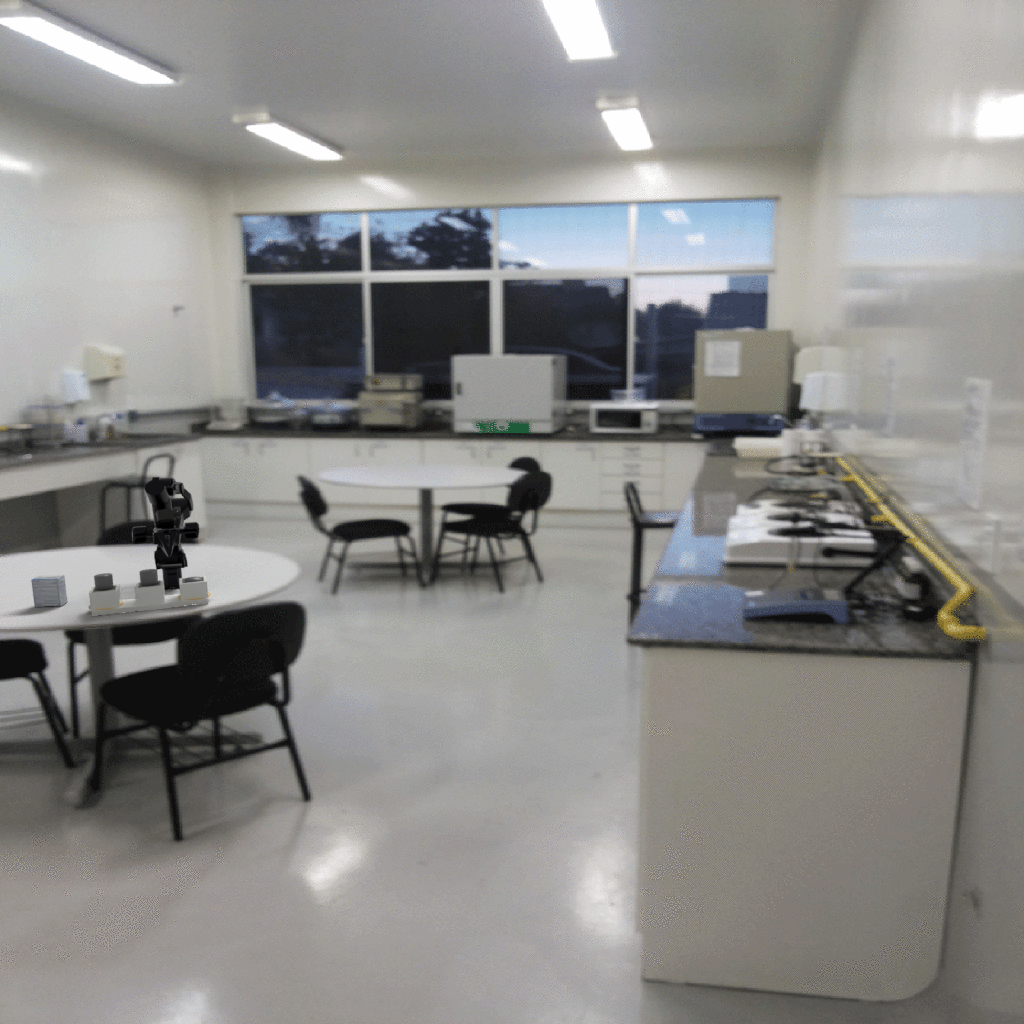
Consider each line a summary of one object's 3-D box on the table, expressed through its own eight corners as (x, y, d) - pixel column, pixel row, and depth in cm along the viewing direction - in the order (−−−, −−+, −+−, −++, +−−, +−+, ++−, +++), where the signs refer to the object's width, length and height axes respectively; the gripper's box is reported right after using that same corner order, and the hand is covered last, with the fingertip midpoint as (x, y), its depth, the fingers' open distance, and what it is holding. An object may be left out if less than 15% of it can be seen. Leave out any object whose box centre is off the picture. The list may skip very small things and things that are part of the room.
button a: (185, 590, 264) (184, 577, 264) (202, 588, 266) (201, 575, 265) (185, 594, 260) (184, 581, 259) (202, 592, 262) (201, 579, 261)
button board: (90, 608, 258) (88, 586, 257) (210, 595, 270) (208, 574, 269) (87, 617, 249) (85, 594, 248) (211, 603, 260) (209, 581, 259)
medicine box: (68, 602, 265) (65, 574, 263) (61, 606, 261) (58, 578, 259) (41, 603, 265) (38, 575, 263) (34, 607, 260) (30, 579, 259)
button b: (140, 583, 260) (139, 570, 259) (158, 581, 261) (157, 568, 261) (140, 587, 255) (139, 573, 254) (158, 585, 257) (156, 571, 256)
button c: (96, 587, 255) (94, 574, 255) (114, 585, 257) (112, 572, 256) (94, 591, 251) (93, 577, 250) (113, 589, 253) (111, 576, 252)
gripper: (129, 500, 259) (135, 545, 252) (196, 495, 268) (204, 538, 260) (129, 521, 268) (135, 565, 260) (194, 516, 276) (201, 558, 269)
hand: (169, 556), depth 262 cm, fingers closed
